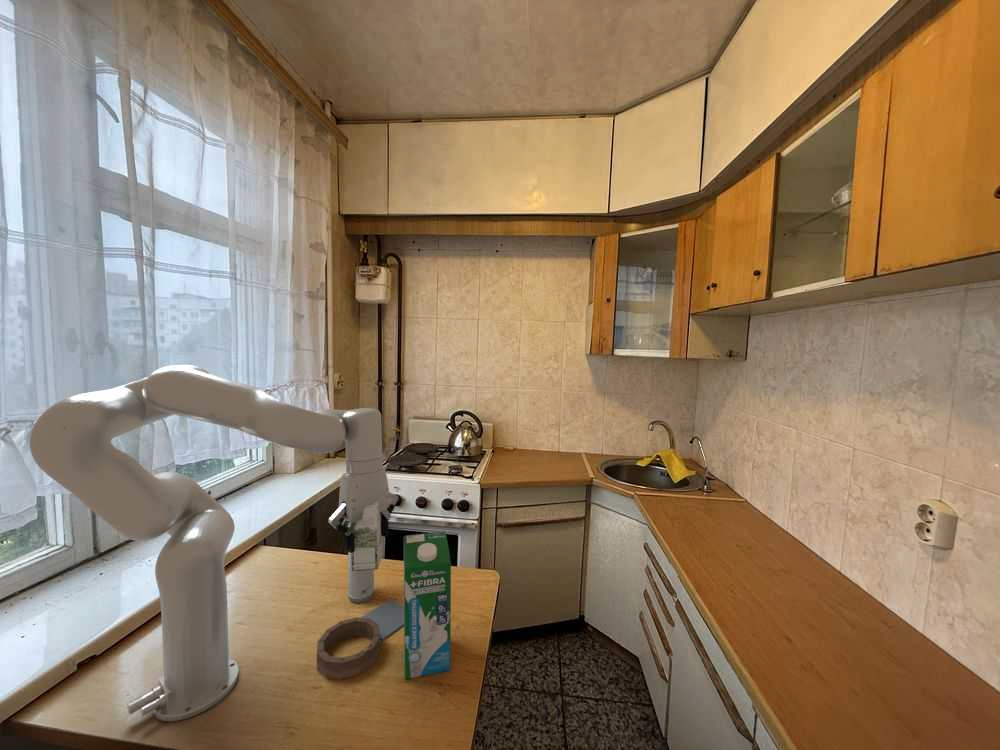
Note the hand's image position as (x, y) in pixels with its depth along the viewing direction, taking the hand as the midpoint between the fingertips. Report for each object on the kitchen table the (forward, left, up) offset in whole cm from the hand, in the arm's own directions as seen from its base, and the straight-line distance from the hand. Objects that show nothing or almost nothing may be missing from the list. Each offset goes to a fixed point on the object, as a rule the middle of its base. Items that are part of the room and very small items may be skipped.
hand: (366, 542), depth 83 cm
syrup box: (0, 0, -5) cm, 5 cm away
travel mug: (+8, +14, -23) cm, 28 cm away
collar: (-5, -1, -22) cm, 23 cm away
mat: (+7, +2, -22) cm, 23 cm away
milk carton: (+4, -14, -23) cm, 27 cm away
